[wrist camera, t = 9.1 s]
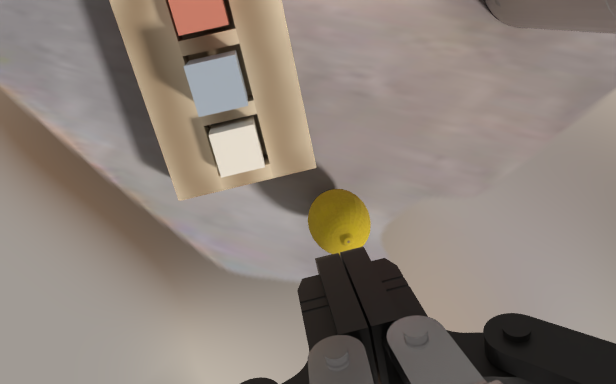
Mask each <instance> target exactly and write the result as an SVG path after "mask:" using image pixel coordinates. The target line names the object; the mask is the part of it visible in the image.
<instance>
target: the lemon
mask: <svg viewBox="0 0 616 384" xmlns="http://www.w3.org/2000/svg"><path fill="white" fill-rule="evenodd" d="M308 225H309V230H310V232H311V235H312V237H313V239H314V240H315V241H316V243H317V244H318V245H319V246H320V247H321V248H322V249H324V250H325V251H327V252H329V253H331V254H335V253H339V255H340V252H343V251H347V250H351V249H355V248H359V247H362V246H363V245H364V244H365V242H366V241H367V239H368V236H369V233H370V217H369V213H368V210H367V208H366V206H365V205H364V203H363V202H362V201H361V200H360V199H359V198H358V197H357V196H356V195H355V194H353V193H351V192H349V191H346V190H343V189H332V190H328V191H326V192H324V193H322V194H320V195H319V196H318V197H317V198H316V199H315V200H314V202H313V203H312V205H311V207H310V210H309V215H308Z"/></svg>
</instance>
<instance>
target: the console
mask: <svg viewBox="0 0 616 384" xmlns="http://www.w3.org/2000/svg"><path fill="white" fill-rule="evenodd" d="M109 1H110V4H111V7H112V10H113V13H114V15H115V18H116V21H117V24H118V27H119V30H120V33H121V36H122V38H123V41H124V44H125V47H126V50H127V53H128V56H129V59H130V62H131V64H132V67H133V70H134V73H135V76H136V79H137V82H138V85H139V87H140V90H141V93H142V96H143V99H144V102H145V105H146V108H147V110H148V113H149V116H150V119H151V122H152V125H153V128H154V131H155V133H156V136H157V139H158V142H159V145H160V148H161V151H162V154H163V157H164V159H165V162H166V165H167V168H168V171H169V174H170V177H171V180H172V182H173V185H174V188H175V191H176V194H177V197H178V200H179V201H181V200H185V199H189V198H193V197H198V196H202V195H206V194H210V193H214V192H218V191H222V190H227V189H231V188H235V187H239V186H243V185H247V184H251V183H256V182H260V181H264V180H268V179H272V178H276V177H281V176H285V175H289V174H293V173H297V172H301V171H305V170H310V169H314V168H316V163H315V158H314V153H313V148H312V144H311V139H310V134H309V129H308V125H307V120H306V115H305V110H304V105H303V101H302V96H301V91H300V86H299V82H298V77H297V72H296V67H295V62H294V58H293V53H292V48H291V43H290V39H289V34H288V29H287V24H286V19H285V15H284V10H283V5H282V0H224V2H225V6H226V10H227V14H228V18H229V22H230V24H229V25H225V26H221V27H216V28H212V29H207V30H203V31H198V32H194V33H190V34H185V35H181V36H179V35H178V32H177V29H176V25H175V22H174V19H173V15H172V12H171V9H170V5H169V2H168V0H109ZM233 50H236V53H237V57H238V61H239V64H240V68H241V72H242V76H243V80H244V84H245V88H246V92H247V96H248V106H245V107H241V108H237V109H232V110H228V111H224V112H219V113H215V114H211V115H206V116H202V117H199V116H198V113H197V109H196V106H195V103H194V100H193V96H192V93H191V90H190V86H189V83H188V80H187V77H186V73H185V70H184V67H183V66H184V65H185V64H186V63H187V62H188V61H190V60H194V59H198V58H203V57H207V56H211V55H216V54H220V53H225V52H229V51H233ZM250 115H253V116H254V120H255V124H256V128H257V132H258V136H259V139H260V143H261V147H262V151H263V157H264V163H265V167H264V168H260V169H255V170H251V171H247V172H243V173H239V174H234V175H230V176H226V177H222V178H221V175H220V172H219V168H218V165H217V162H216V158H215V155H214V152H213V148H212V145H211V142H210V138H209V131H210V128H211V124H215V123H220V122H224V121H228V120H232V119H237V118H241V117H245V116H250Z"/></svg>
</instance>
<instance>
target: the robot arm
mask: <svg viewBox="0 0 616 384" xmlns="http://www.w3.org/2000/svg"><path fill="white" fill-rule="evenodd" d="M485 1H486V4H487V6H488V8H489V9H490V11H491V12H492V14H493V15H494V16H495V17H497V18H498V19H499V20H500V21H502V22H503V23H505V24H507V25H510V26H514V27H518V28H534V29H547V30H564V31H580V32H597V33H613V34H616V0H485ZM315 260H316V265H317V269H318V273H319V275H316V276H312V277H308V278H304V279H302V281H301V283H300V286H299V288H298V295H299V300H300V305H301V310H302V315H303V320H304V325H305V330H306V335H307V340H308V345H309V356H308V361H307V363H306V365H305V366H304V368H303V369H302V370H301V371H300V372H299V373H298V374H297V375H295V376H294V377H292V378H291V379H289V380H287V381H286V382H284V383H282V384H616V344H615V343H612V342H609V341H605V340H602V339H599V338H596V337H593V336H590V335H587V334H584V333H581V332H577V331H574V330H571V329H568V328H565V327H562V326H559V325H555V324H552V323H549V322H546V321H543V320H540V319H537V318H533V317H530V316H527V315H523V314H515V313H508V314H501V315H498V316H496V317H493V318H492V319H490V320H489V321H488V322H487V323H486V325H485V326H484V331H483V333H458V332H451V331H448V330H446V329H445V328H444V327H443V326H442V325H441V324H440V323H439V322H438V321H436V320H435V319H433V318H430V317H428V316H427V314H426V313H425V311H424V310H423V308H422V306H421V304H420V303H419V301H418V300H417V298H416V296H415V295H414V293H413V292H412V290H411V288H410V287H409V286H408V283H407V281H406V280H405V278H403V275H402V274H401V272H400V270H399V269H398V267H397V265H395V264H393V263H392V262H390V261H389V260H387V259H385V258H383V259H379V260H375V261H371V260H370V258H369V256H368V254H367V252H366V250H365V248H364V247H359V248H355V249H351V250H347V251H343V252H340V255H339V253H335V254H331V255H327V256H323V257H319V258H315ZM241 384H278V383H277V382H275V381H274V380H271V379H268V378H253V379H250V380H247V381H244V382H242V383H241Z"/></svg>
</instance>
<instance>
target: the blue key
mask: <svg viewBox="0 0 616 384" xmlns="http://www.w3.org/2000/svg"><path fill="white" fill-rule="evenodd" d="M183 67H184V70H185V73H186V77H187V80H188V83H189V86H190V90H191V93H192V96H193V100H194V103H195V106H196V109H197V113H198V116H199V117H202V116H206V115H211V114H215V113H219V112H224V111H228V110H232V109H237V108H241V107H245V106H248V96H247V92H246V88H245V84H244V80H243V76H242V72H241V68H240V64H239V61H238V57H237V53H236V50H233V51H229V52H225V53H220V54H216V55H211V56H207V57H203V58H198V59H194V60H190V61H188V62H187V63H186V64H185V65H184V66H183Z"/></svg>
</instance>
